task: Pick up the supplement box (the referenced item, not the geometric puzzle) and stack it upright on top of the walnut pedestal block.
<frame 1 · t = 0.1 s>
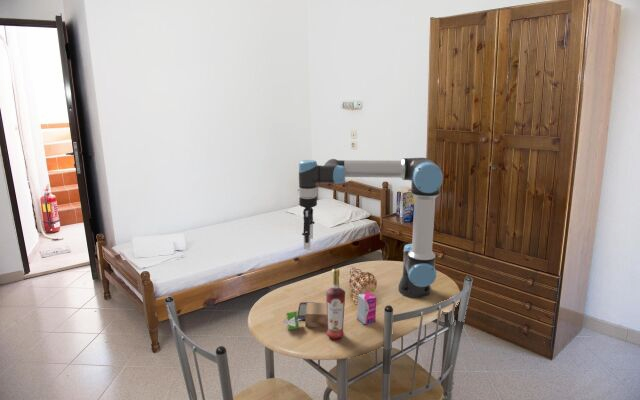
hand: (308, 243, 202), 28 cm above the table, fingers open, 13 cm apart
liquor: (335, 336, 181), on the table
supplement box: (366, 321, 193), on the table
walnut pedestal block: (318, 321, 193), on the table
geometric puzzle: (292, 328, 188), on the table
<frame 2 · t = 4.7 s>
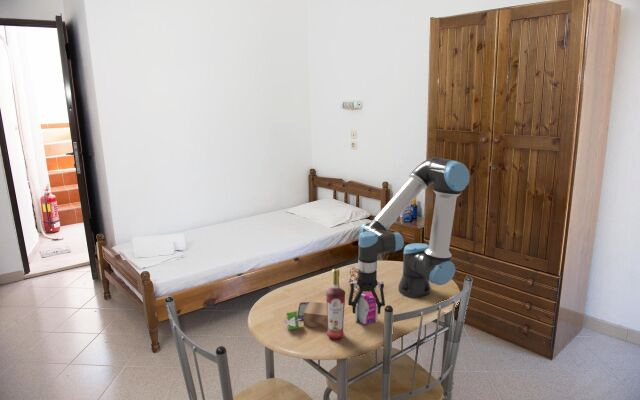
hand: (366, 320, 193), 0 cm above the table, fingers closed on supplement box, 8 cm apart
supplement box: (366, 321, 193), on the table, touching gripper
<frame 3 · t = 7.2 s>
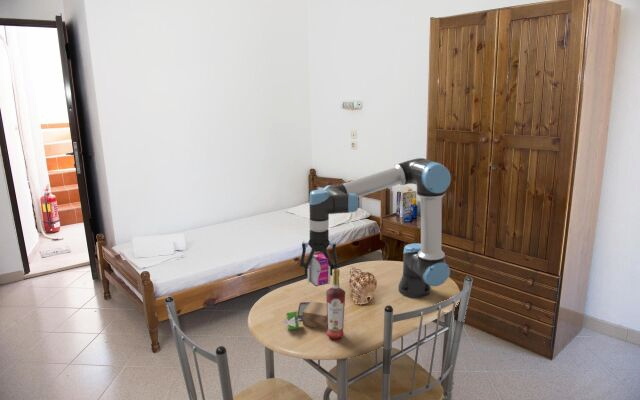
hand: (319, 282, 189), 18 cm above the table, fingers closed on supplement box, 8 cm apart
supplement box: (319, 283, 189), point 17 cm above the table, touching gripper
everything else where it was.
when the fingers open (8 cm above the table, at t = 9.8 s): supplement box drops 1 cm, point 6 cm above the table.
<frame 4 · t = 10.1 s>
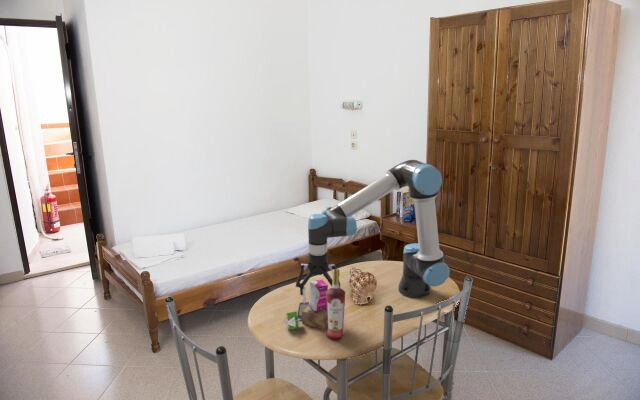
hand: (318, 302, 191), 8 cm above the table, fingers open, 11 cm apart
supplement box: (318, 308, 192), point 6 cm above the table
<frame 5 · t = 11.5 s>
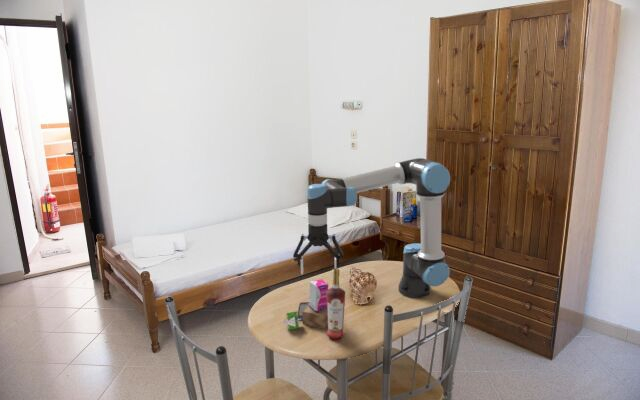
hand: (318, 273, 188), 21 cm above the table, fingers open, 13 cm apart
supplement box: (318, 308, 192), point 6 cm above the table, touching walnut pedestal block
walnut pedestal block: (318, 321, 193), on the table, touching supplement box
everything else where it was.
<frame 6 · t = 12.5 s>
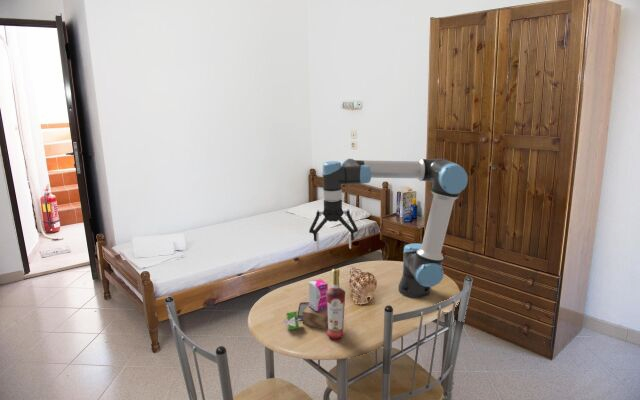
hand: (334, 247, 195), 29 cm above the table, fingers open, 13 cm apart
supplement box: (318, 308, 192), point 6 cm above the table
walnut pedestal block: (318, 321, 193), on the table
everything else where it was.
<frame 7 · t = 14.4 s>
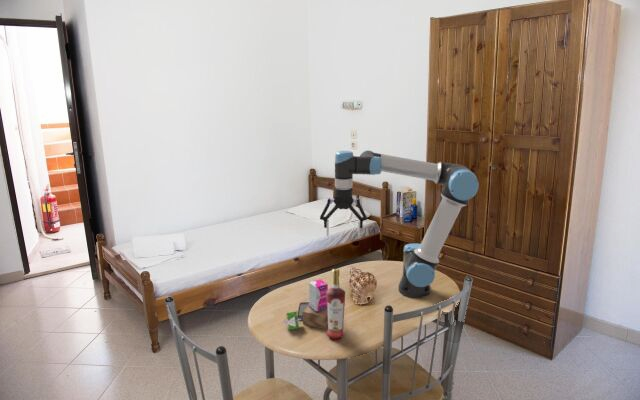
hand: (343, 235, 202), 32 cm above the table, fingers open, 13 cm apart
supplement box: (318, 308, 192), point 6 cm above the table, touching walnut pedestal block
walnut pedestal block: (318, 321, 193), on the table, touching supplement box
everything else where it was.
at the end: supplement box inside the target area on the walnut pedestal block (0.3 cm from its centre), point 5.9 cm above the walnut pedestal block's base; supplement box tilted 1°; the gripper is holding nothing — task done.
